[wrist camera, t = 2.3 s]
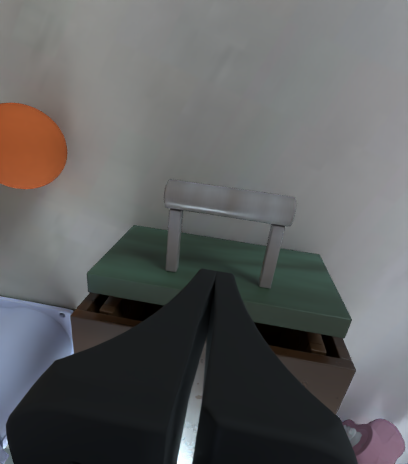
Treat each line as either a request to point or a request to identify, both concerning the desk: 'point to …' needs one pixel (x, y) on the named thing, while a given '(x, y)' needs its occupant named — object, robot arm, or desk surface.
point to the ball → (29, 147)
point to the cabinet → (297, 362)
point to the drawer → (225, 267)
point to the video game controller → (375, 441)
